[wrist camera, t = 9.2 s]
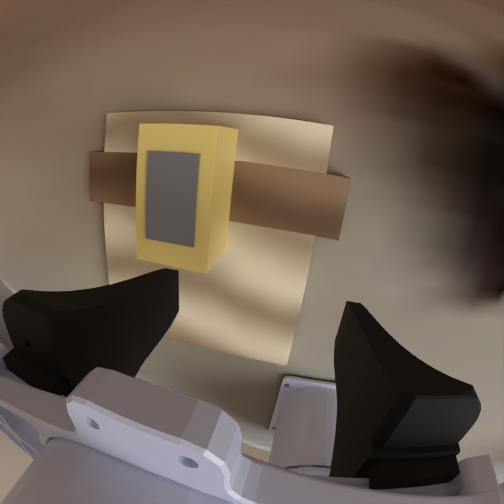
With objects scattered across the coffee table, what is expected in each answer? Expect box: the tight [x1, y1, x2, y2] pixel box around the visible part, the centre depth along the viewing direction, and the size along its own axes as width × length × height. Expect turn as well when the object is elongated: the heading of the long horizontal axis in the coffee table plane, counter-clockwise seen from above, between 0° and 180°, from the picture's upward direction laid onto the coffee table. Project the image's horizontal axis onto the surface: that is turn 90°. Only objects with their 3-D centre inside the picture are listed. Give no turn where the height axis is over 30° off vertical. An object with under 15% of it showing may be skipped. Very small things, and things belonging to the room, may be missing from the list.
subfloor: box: [90, 111, 350, 366], centre depth 21 cm, size 18×19×1 cm
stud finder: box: [136, 124, 238, 274], centre depth 17 cm, size 8×5×4 cm, turn 173°
